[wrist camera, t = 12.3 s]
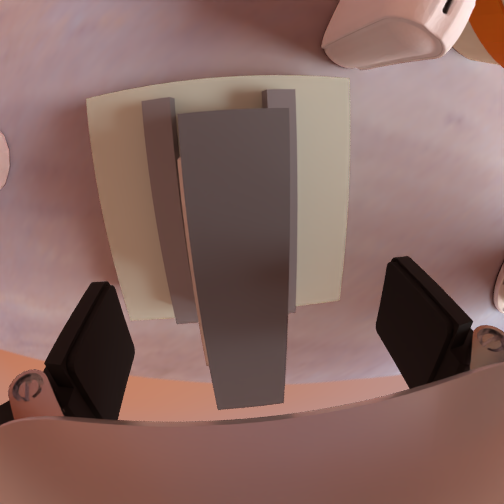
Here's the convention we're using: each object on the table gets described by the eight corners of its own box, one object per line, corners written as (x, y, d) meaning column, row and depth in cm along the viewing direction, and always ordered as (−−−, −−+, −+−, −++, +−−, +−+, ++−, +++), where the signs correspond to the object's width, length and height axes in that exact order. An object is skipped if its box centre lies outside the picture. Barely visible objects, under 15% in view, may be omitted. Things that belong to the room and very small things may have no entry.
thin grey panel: (250, 108, 17) (289, 108, 8) (256, 288, 22) (283, 403, 13) (192, 112, 17) (166, 115, 8) (209, 292, 22) (211, 410, 13)
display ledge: (327, 82, 20) (363, 76, 15) (324, 274, 27) (348, 315, 22) (106, 99, 19) (72, 98, 13) (140, 292, 26) (125, 337, 20)
